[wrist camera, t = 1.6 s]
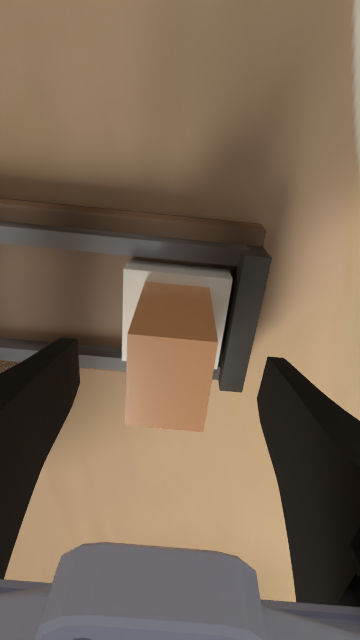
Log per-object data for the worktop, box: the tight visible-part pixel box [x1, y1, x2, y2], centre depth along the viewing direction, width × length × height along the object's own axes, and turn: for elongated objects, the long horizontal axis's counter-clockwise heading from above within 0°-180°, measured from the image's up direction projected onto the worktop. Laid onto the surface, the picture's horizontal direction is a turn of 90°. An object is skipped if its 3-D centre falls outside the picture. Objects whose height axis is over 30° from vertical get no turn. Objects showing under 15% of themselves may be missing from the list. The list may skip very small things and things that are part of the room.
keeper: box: [122, 259, 233, 432], centre depth 15 cm, size 5×5×6 cm
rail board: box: [0, 198, 272, 392], centre depth 18 cm, size 20×9×4 cm, turn 85°
